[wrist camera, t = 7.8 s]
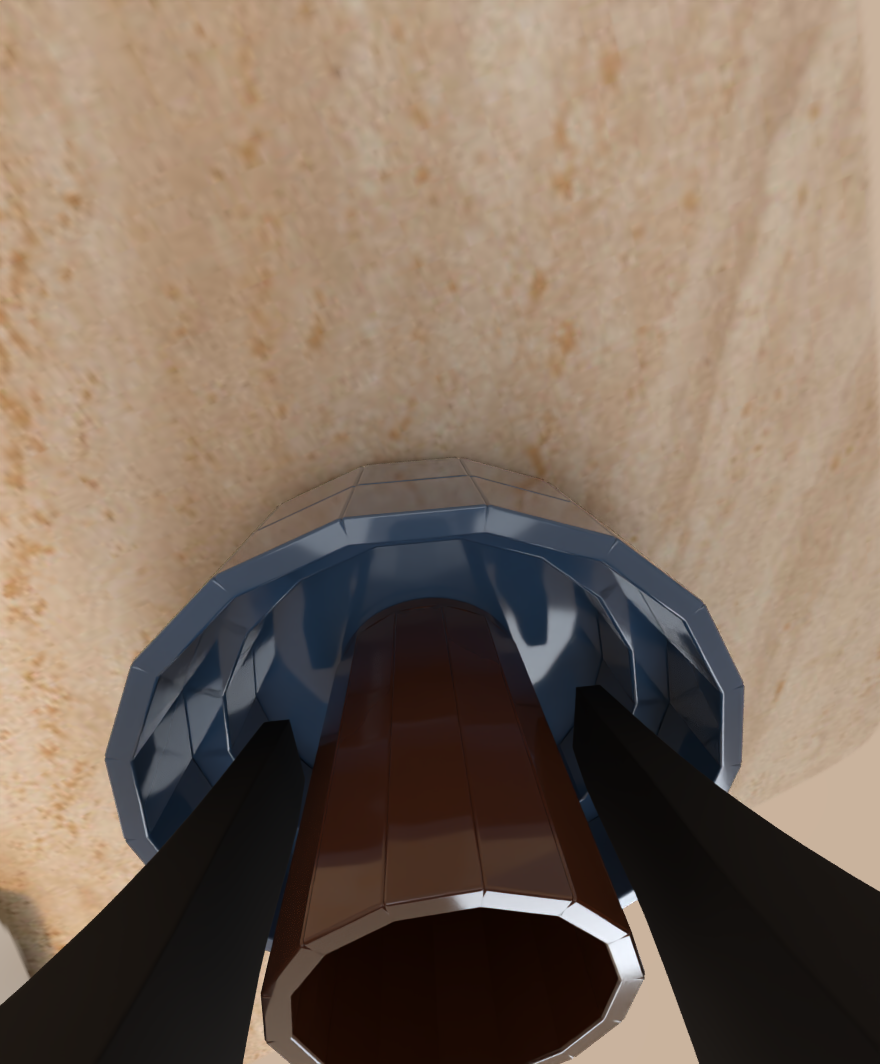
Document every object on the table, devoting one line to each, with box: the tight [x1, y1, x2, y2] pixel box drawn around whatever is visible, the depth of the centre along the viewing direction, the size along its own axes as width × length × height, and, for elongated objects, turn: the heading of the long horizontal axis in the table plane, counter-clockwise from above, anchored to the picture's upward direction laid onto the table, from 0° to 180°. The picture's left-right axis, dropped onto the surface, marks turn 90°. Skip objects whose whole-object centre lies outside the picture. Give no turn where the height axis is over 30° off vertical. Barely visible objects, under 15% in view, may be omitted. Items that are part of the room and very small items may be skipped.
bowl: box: [105, 457, 744, 952], centre depth 11 cm, size 13×13×4 cm
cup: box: [261, 598, 645, 1064], centre depth 9 cm, size 5×6×7 cm
